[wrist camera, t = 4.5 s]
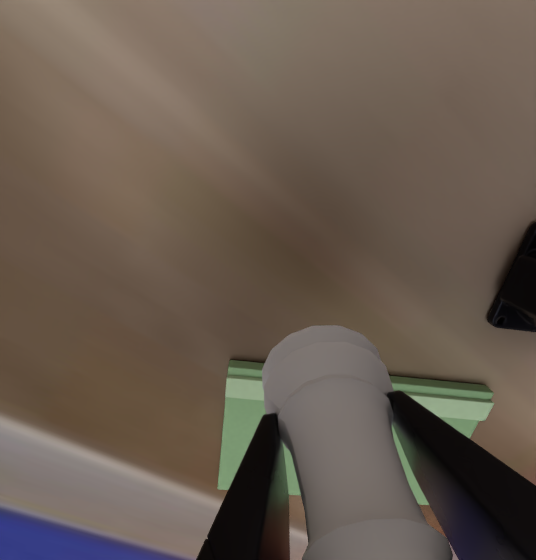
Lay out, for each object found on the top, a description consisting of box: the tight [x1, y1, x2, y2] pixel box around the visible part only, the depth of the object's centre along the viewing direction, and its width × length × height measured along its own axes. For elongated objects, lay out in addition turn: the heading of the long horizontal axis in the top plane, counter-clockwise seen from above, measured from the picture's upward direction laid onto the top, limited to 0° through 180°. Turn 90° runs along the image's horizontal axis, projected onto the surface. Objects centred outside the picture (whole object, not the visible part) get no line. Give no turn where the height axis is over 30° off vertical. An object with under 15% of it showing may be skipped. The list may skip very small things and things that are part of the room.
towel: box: [218, 360, 494, 505], centre depth 20 cm, size 18×12×1 cm, turn 83°
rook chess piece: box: [262, 325, 453, 560], centre depth 6 cm, size 4×4×8 cm
